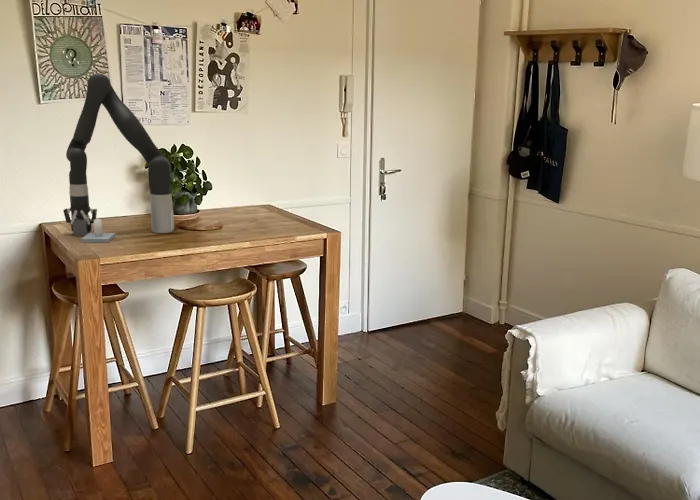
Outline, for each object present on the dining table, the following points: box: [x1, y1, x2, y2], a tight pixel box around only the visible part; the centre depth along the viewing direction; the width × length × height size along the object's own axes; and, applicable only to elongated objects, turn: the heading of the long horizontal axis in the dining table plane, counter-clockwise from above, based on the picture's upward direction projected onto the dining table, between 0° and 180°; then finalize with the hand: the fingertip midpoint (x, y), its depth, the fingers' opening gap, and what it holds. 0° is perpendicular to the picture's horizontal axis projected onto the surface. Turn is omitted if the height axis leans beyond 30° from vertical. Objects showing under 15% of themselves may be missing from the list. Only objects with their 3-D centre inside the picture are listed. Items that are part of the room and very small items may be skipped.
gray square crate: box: [72, 220, 88, 237], centre depth 307 cm, size 6×6×6 cm
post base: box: [80, 218, 116, 244], centre depth 299 cm, size 11×11×8 cm
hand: (81, 232), depth 307 cm, fingers closed on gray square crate, 5 cm apart
